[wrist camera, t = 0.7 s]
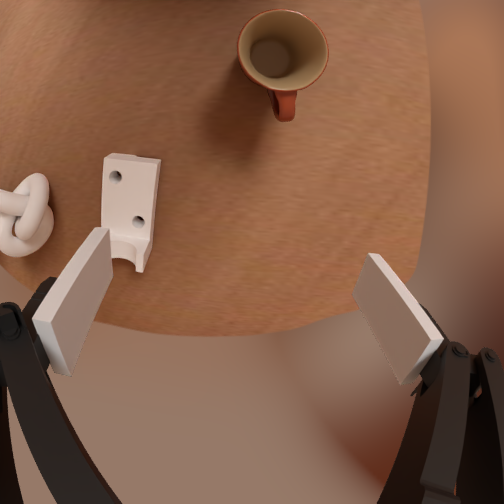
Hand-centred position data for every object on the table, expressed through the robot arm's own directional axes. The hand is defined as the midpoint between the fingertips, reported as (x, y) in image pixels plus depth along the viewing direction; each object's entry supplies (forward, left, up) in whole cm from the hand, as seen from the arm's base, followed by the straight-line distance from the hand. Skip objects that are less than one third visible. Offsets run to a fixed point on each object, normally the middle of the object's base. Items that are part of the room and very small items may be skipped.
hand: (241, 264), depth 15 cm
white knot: (+6, -30, -27) cm, 41 cm away
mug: (-11, +5, -27) cm, 30 cm away
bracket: (+6, -13, -27) cm, 31 cm away
